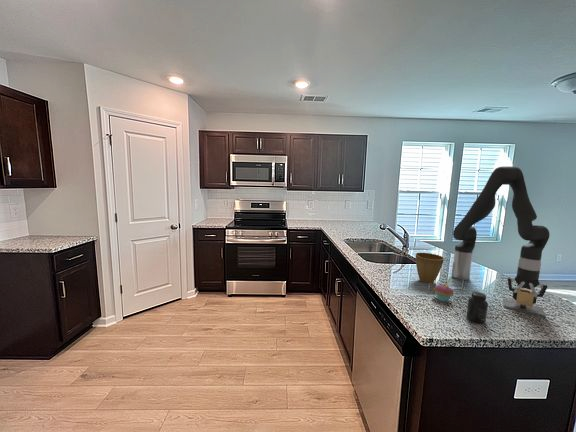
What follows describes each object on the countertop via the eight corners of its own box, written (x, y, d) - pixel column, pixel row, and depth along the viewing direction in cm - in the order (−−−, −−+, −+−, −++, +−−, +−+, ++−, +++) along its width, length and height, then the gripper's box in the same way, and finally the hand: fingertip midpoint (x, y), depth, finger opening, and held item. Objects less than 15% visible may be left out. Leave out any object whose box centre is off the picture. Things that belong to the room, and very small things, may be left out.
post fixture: (504, 307, 119) (505, 295, 119) (503, 300, 127) (504, 289, 126) (545, 317, 111) (547, 304, 110) (541, 309, 118) (543, 297, 118)
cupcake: (450, 297, 129) (452, 275, 128) (455, 304, 121) (457, 281, 120) (431, 294, 132) (433, 272, 131) (435, 301, 124) (437, 278, 123)
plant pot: (414, 283, 146) (416, 257, 144) (412, 275, 160) (414, 251, 158) (443, 288, 141) (446, 260, 139) (438, 279, 155) (441, 254, 153)
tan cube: (516, 303, 118) (517, 291, 117) (515, 299, 122) (516, 287, 122) (532, 307, 115) (534, 294, 114) (530, 302, 119) (532, 290, 118)
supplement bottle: (462, 316, 110) (465, 290, 109) (476, 316, 111) (479, 290, 109) (474, 325, 103) (478, 297, 102) (490, 324, 104) (493, 297, 102)
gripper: (508, 266, 118) (504, 299, 120) (552, 273, 109) (546, 309, 111) (508, 262, 124) (503, 294, 126) (549, 269, 115) (543, 303, 117)
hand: (523, 301), depth 119 cm, fingers closed on tan cube, 5 cm apart
